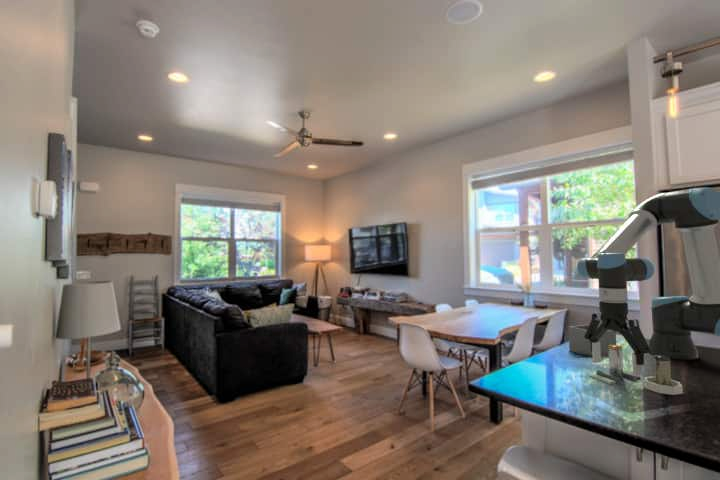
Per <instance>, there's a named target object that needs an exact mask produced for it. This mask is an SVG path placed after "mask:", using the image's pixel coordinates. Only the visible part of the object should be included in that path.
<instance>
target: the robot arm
mask: <svg viewBox="0 0 720 480" xmlns="http://www.w3.org/2000/svg"><path fill="white" fill-rule="evenodd" d="M719 220H720V193H719V192H718V191H717V190H716V189H714V188H712V187H708V186H707V187H706V186H704V187H693V188H686V189H681V190H675V191H669V192H661V193H658V194H656V195H653V196H651V197H649V198H647V199H646V200H644V201H642V202H641V203H640V204H639V205H637V206H636V207H635V208H634V209H633V210H631V212H629V214H628V218H627V220H626V221H625V222H624V223H622V225H621V226H620V227H619V228H618V229H617V230H616V231H615V232H614V233H613V234H612V235H611V237H610V238H609V239H607V240H606V242H604V244H603V245H602V246H601V247H600V248H599V249H598V250H597V251H596V252H595V253H594V254H593V255H592V256H591V257H583V258H580V260H579V261H578V262H577V265H576V270H577V273H578V274H579V276H581V277H582V278H583V279H584V278H585V279H590V280H598V299H599V300H600V301H599V302H598V304H599V305H598V307H599V312H600V313H599V312H595V313H591V320H590V323H589V324H588V325H589V327H588V329H587V332H586V334H585V336H584V337H585V339H588V340H589V341H590V345H591V351H592V357H591V358H592V363H594V364H596V363H597V364H598V363H602V356H601V350H600V342H597V341H598V340H599V339H600V338H601V337H602V336H603V334H604V333H605V332H606V331H607V330H613V331H616V333H617V332H618V333H619V334H620V335H622V337H623V338H624V340H625V341H626V343H627V344H628V345H629V347H630V348H631V349H632V350H633V352H632V353H631V360H632V361H631V363H632V374H633V375H634V376H639V377H640V376H643V366H644V365H645V357H644V355H645V354H649V353H650V354H651V355H653V356H654V355H663V356H667V357H670V359H675V360H684V361H685V360H697V359H699V351H698V350H697V347H696V345H695V343H694V340H693V338H692V333H699V334H704V335H712V336H716V337H720V255H719V251H718V250H719V249H718V246H717V238H716V234H715V227H717V226H718V225H719V222H720V221H719ZM670 223H671V224H674V227H675V228H674V229H676V230H677V231H679V232H681V236H682V240H683V241H682V242H683V247H684V252H685V257H686V263H687V269H688V274H689V279H690V284H691V289H692V295H691V296H690V297H689V296H686V295H682V296H681V295H678V296H677V295H676V296H673V295H672V296H657V297H656V296H655V297H653V299H652V301H651V306H650V307H651V309H650V310H651V320H652V321H651V322H652V334H651V338H650V340H649V343H648V342H647V340H646V338H645V335H644V334H643V332H642V330H641V328H640V325H639V319H628V314H629V304H628V299H629V297H628V282H642V281H647V280H649V279H651V278H652V277H653V276H654V274H655V267H654V265H653V263H652V262H651V261H650V260H648V259H646V258H642V257H633V258H631V257H628V258H627V257H626V255H627V254H628V253H629V251H631V249H632V248H633V247H634V246H635V245H636V244H637V243H638V242H639V241H640V240H641V239H642V237H643V236H644V235H645V234H646V233H647V232H648V231H652V230H653V229H655V228H656V227H657V226H659V225H663V224H670ZM598 326H599V328H598V329H597V327H598ZM596 330H597V331H596Z"/></svg>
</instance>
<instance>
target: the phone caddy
mask: <svg viewBox="0 0 720 480" xmlns="http://www.w3.org/2000/svg"><path fill="white" fill-rule="evenodd" d="M589 325H590V324H583V325H582V324H581V325H571V326H569V325H568V344H569V345H568V346H569V351H571V352H574V353H575V352H577V351H578V352H582V353H585V354H589V355H592V351H591V345H590V341H589V340H588V339H585V337H584V336H585V334H586V332H587V329H588V327H589ZM599 326H600V325H598V327H597V329H598V328H599ZM596 331H597V330H596ZM597 342H600V350H601V357H609V352H608V345H617V332H616V331H613V330H607V331H606V332H605V333H604V334H603V336H602V337H601V338H600V339H599V340H598V341H597Z"/></svg>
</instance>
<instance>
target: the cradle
mask: <svg viewBox="0 0 720 480" xmlns="http://www.w3.org/2000/svg"><path fill="white" fill-rule="evenodd" d="M585 377H588V378H591V379H594V380H596V381H599V382H601V383H604V384H607V385H610V386H612V387H618V386H623V385H624V386H625V385H630V384H637V383H644V378H642V377H641V376H640V375H639V376H634V375H633V373H629V372H626V371H624V370H623V380H620V377H617V376H614V375H611V374H609V372H608V371H607V372H606V371H605V372H604V371H601V370H596V373H592V374H591V373H590V374H586V375H585Z"/></svg>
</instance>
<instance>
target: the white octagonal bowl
mask: <svg viewBox="0 0 720 480" xmlns="http://www.w3.org/2000/svg"><path fill="white" fill-rule="evenodd" d="M643 379H644V382H643V386H644V388H645V389H646V390H650V391H653V392H655V393H657V394H664V395H673V396H676V395H682V394H683V393H684V392H683V391H684V390H683V389H684V388H683V385H682V384H681V382H680V381H677V380H673V379H671V386H666V385H658V384H655V376H651V375H650V376H645V377H643Z"/></svg>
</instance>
